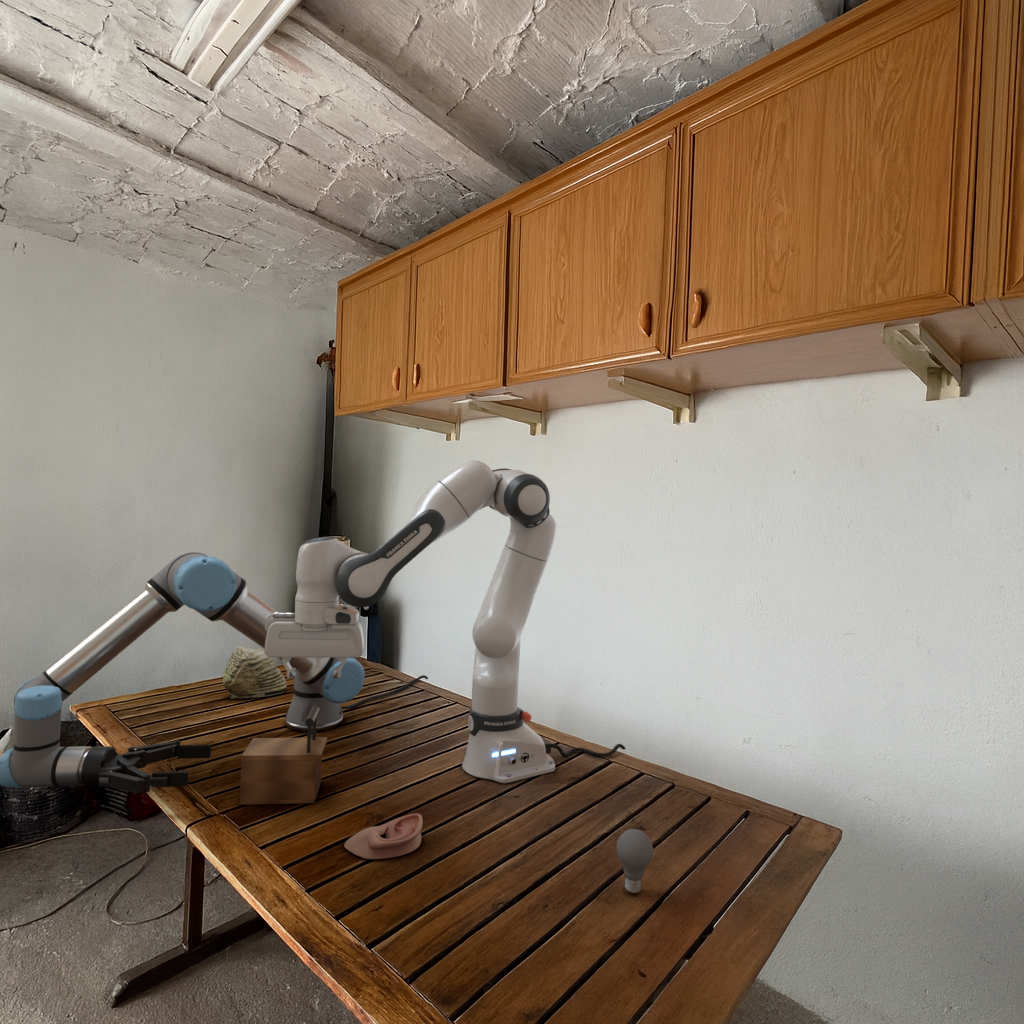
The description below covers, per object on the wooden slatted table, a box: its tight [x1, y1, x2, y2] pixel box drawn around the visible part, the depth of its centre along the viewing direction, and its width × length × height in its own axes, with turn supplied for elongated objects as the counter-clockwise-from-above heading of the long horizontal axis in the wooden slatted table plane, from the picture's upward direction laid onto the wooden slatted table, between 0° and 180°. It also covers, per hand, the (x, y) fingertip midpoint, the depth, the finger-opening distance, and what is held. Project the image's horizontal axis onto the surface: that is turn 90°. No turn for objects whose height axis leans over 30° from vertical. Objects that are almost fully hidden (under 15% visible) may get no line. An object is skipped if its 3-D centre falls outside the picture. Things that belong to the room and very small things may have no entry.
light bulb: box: [615, 828, 654, 894], centre depth 106 cm, size 6×6×10 cm
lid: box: [240, 706, 328, 761], centre depth 134 cm, size 16×9×8 cm, turn 98°
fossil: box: [222, 646, 288, 699], centre depth 198 cm, size 9×18×15 cm, turn 132°
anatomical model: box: [343, 813, 424, 860], centre depth 117 cm, size 13×4×12 cm
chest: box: [239, 756, 323, 806], centre depth 134 cm, size 15×9×9 cm, turn 98°
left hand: (199, 764), depth 132 cm, fingers open, 13 cm apart
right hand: (314, 677), depth 135 cm, fingers open, 8 cm apart
